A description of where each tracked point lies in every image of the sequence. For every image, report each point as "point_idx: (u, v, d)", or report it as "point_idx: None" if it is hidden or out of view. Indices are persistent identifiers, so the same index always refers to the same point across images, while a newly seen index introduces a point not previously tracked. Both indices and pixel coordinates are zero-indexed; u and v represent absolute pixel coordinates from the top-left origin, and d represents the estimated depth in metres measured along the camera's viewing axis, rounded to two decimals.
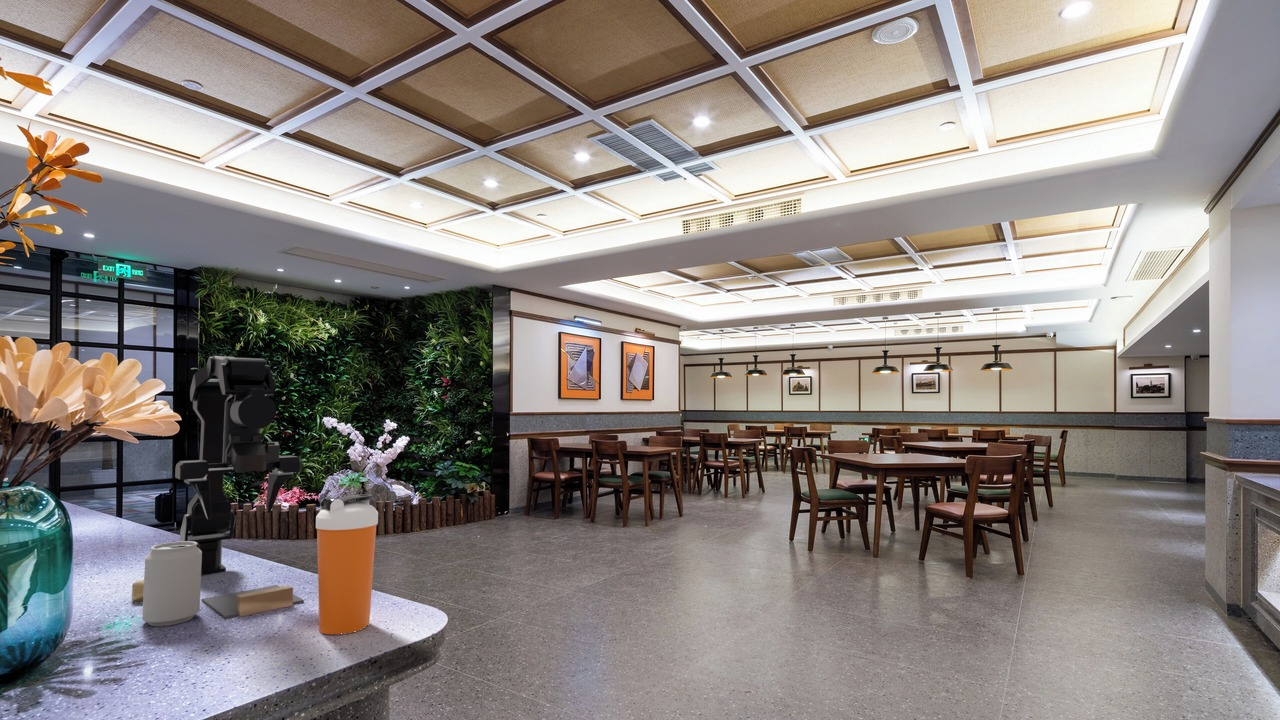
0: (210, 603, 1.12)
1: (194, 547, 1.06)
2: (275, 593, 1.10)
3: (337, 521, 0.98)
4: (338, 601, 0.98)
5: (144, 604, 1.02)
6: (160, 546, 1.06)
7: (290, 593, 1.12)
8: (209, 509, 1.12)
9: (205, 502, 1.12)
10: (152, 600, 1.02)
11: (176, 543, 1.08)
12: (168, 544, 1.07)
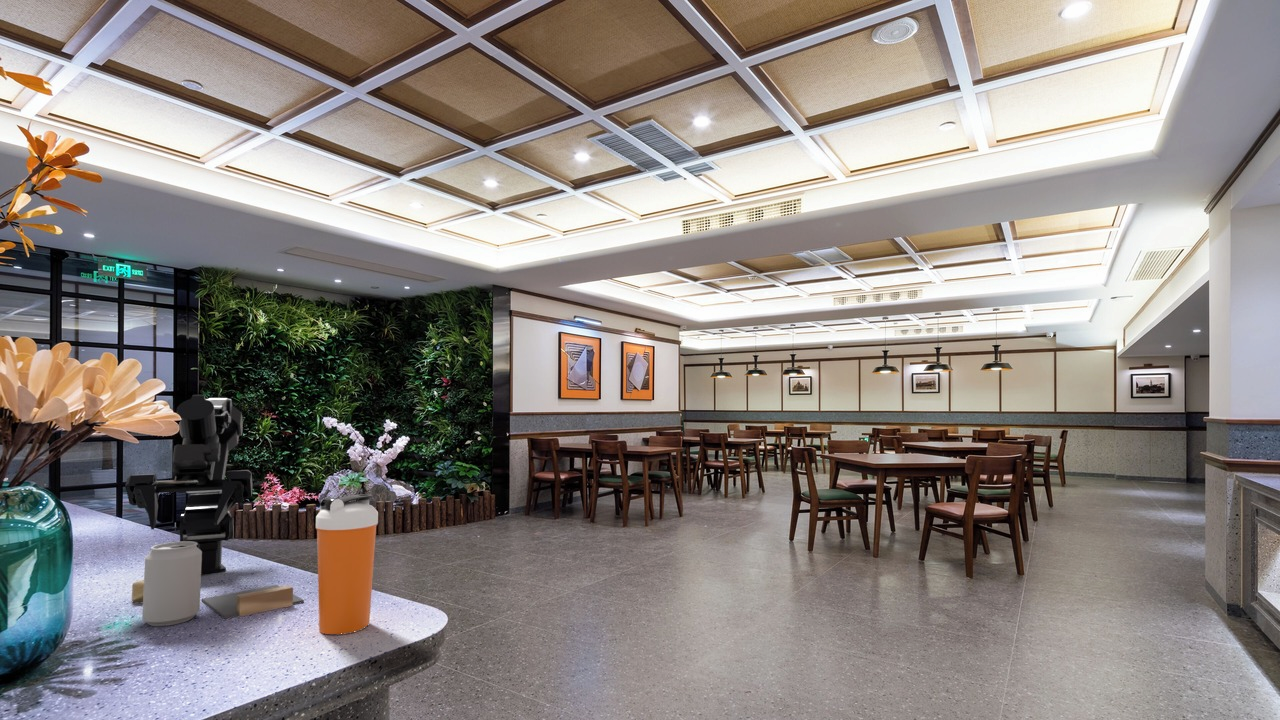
0: (210, 603, 1.12)
1: (194, 547, 1.06)
2: (275, 593, 1.10)
3: (337, 521, 0.98)
4: (338, 601, 0.98)
5: (144, 604, 1.02)
6: (160, 546, 1.06)
7: (290, 593, 1.12)
8: (152, 516, 1.12)
9: (150, 510, 1.13)
10: (152, 600, 1.02)
11: (176, 543, 1.08)
12: (168, 544, 1.07)
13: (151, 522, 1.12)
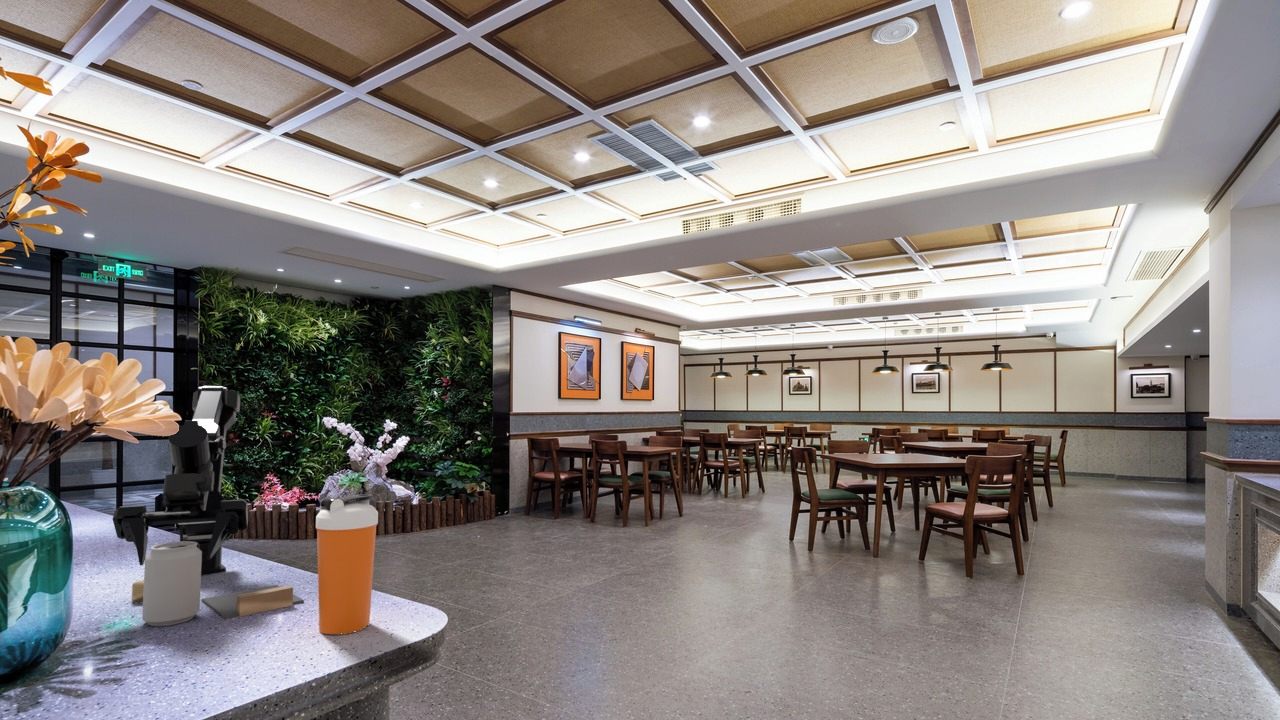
0: (210, 603, 1.12)
1: (194, 547, 1.06)
2: (275, 593, 1.10)
3: (337, 521, 0.98)
4: (338, 601, 0.98)
5: (144, 604, 1.02)
6: (160, 546, 1.06)
7: (290, 593, 1.12)
8: (141, 551, 1.06)
9: (138, 545, 1.06)
10: (152, 600, 1.02)
11: (176, 543, 1.08)
12: (168, 544, 1.07)
13: (140, 557, 1.05)
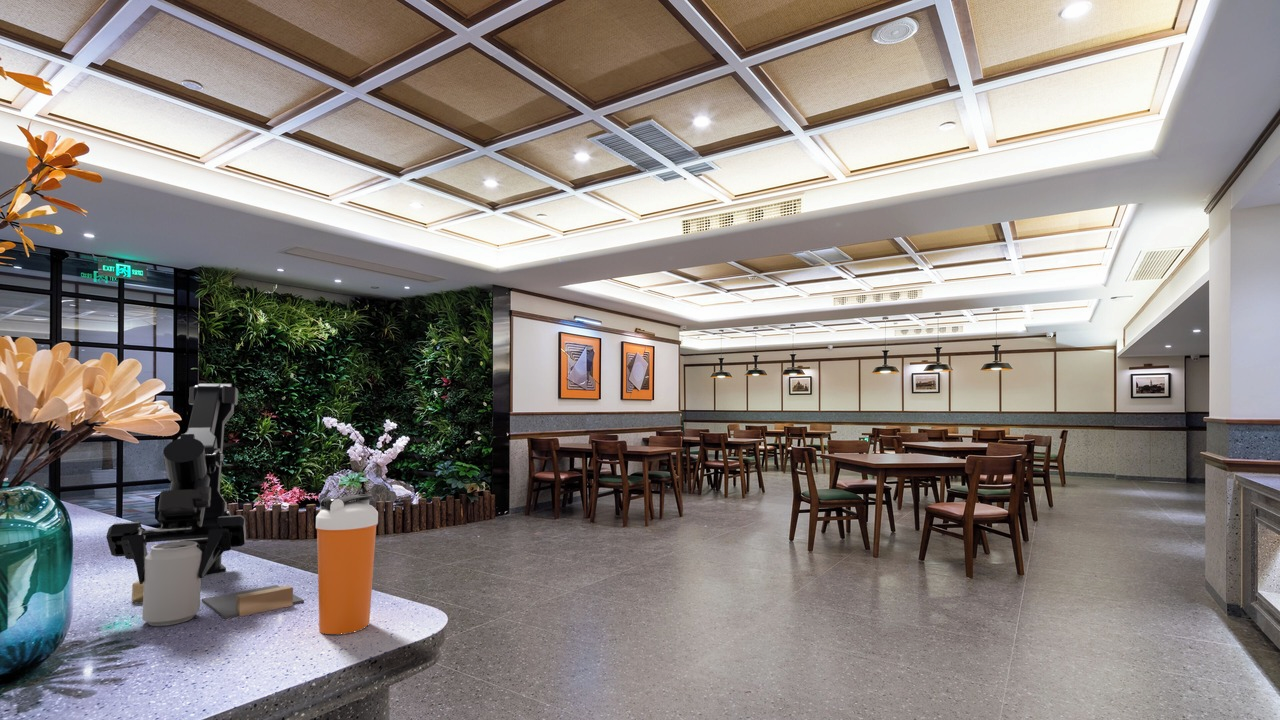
0: (210, 603, 1.12)
1: (194, 547, 1.06)
2: (275, 593, 1.10)
3: (337, 521, 0.98)
4: (338, 601, 0.98)
5: (144, 604, 1.02)
6: (160, 546, 1.06)
7: (290, 593, 1.12)
8: (141, 569, 1.03)
9: (138, 563, 1.04)
10: (152, 600, 1.02)
11: (176, 543, 1.08)
12: (168, 544, 1.07)
13: (140, 576, 1.02)
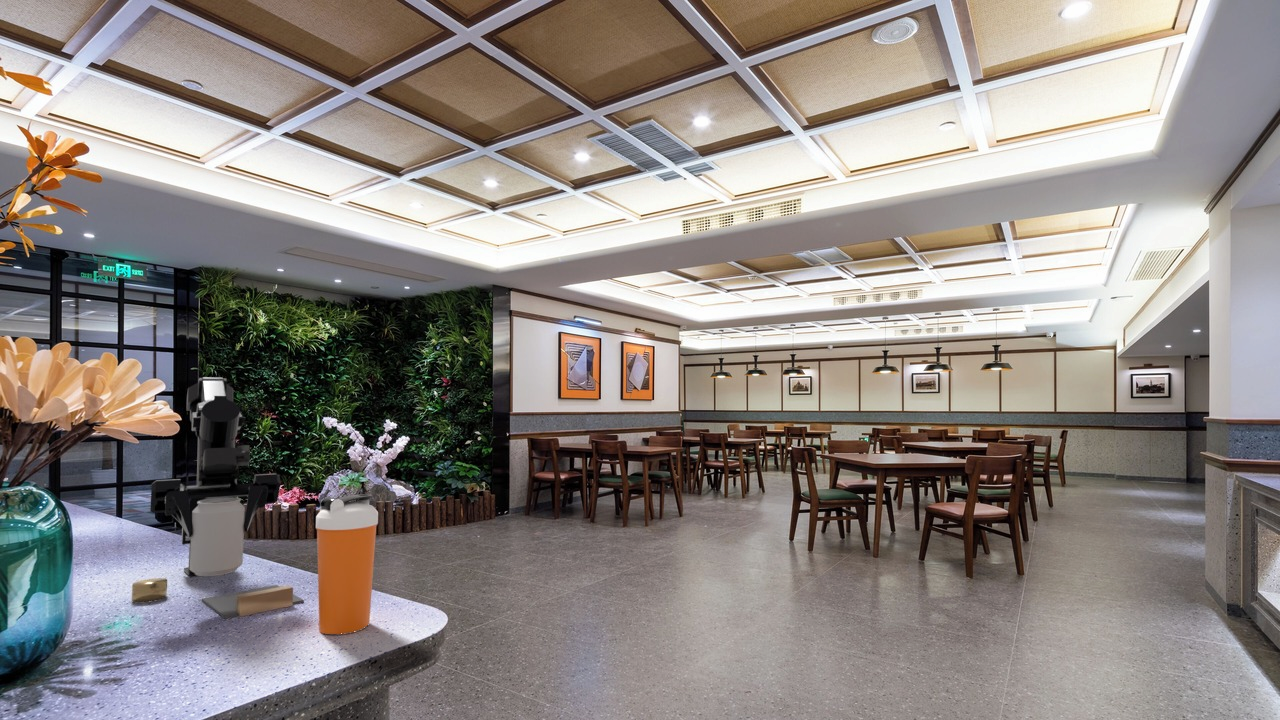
0: (210, 603, 1.12)
1: (239, 502, 1.11)
2: (275, 593, 1.10)
3: (337, 521, 0.98)
4: (338, 601, 0.98)
5: (194, 556, 1.06)
6: (203, 502, 1.10)
7: (290, 593, 1.12)
8: (189, 523, 1.07)
9: (185, 517, 1.08)
10: (203, 551, 1.06)
11: (217, 499, 1.12)
12: (209, 500, 1.12)
13: (189, 529, 1.07)
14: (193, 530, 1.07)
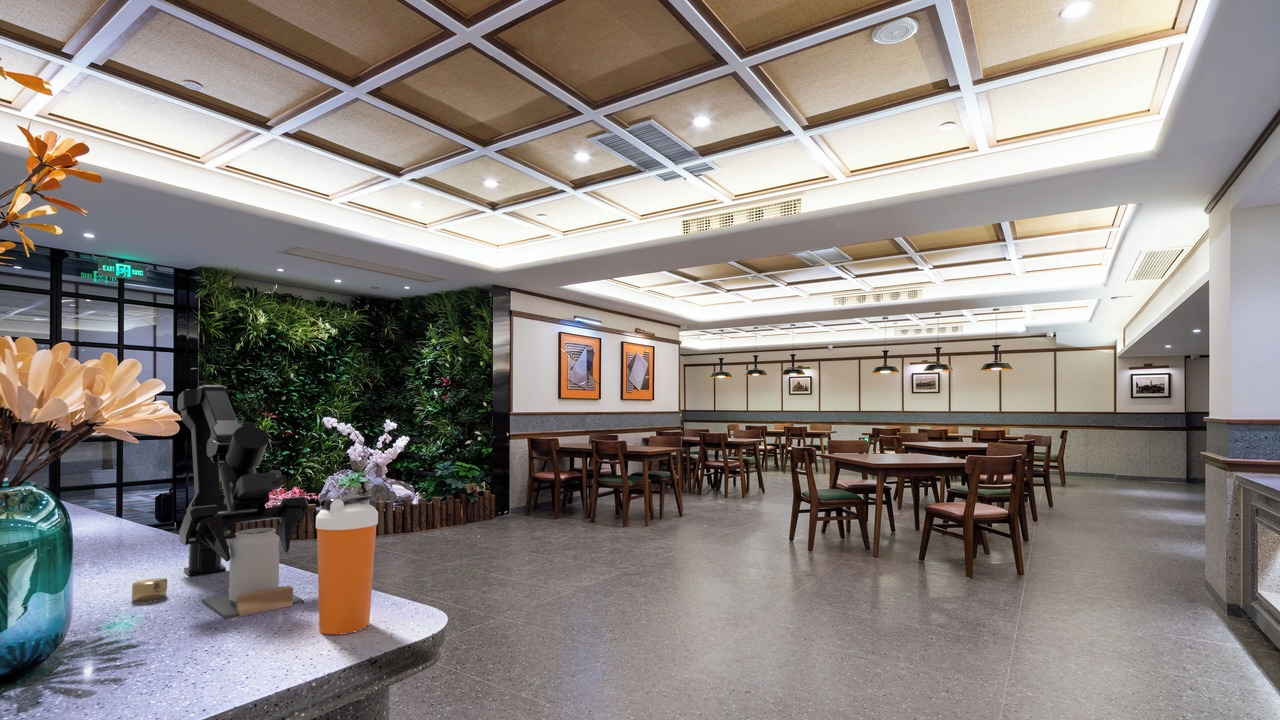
0: (210, 603, 1.12)
1: (274, 532, 1.16)
2: (275, 593, 1.10)
3: (337, 521, 0.98)
4: (338, 601, 0.98)
5: (236, 586, 1.11)
6: (238, 533, 1.14)
7: (290, 593, 1.12)
8: (227, 548, 1.11)
9: (221, 542, 1.11)
10: (247, 581, 1.11)
11: (249, 530, 1.16)
12: (243, 531, 1.15)
13: (227, 554, 1.10)
14: (234, 561, 1.11)
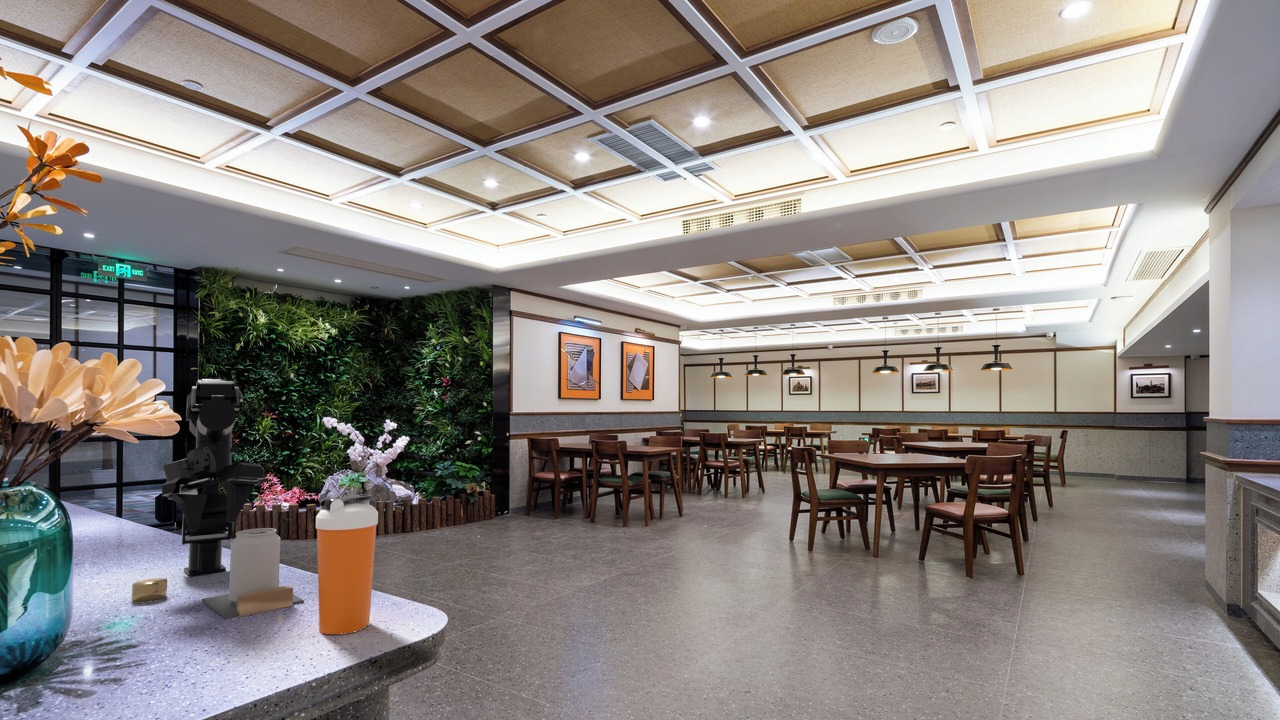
0: (210, 603, 1.12)
1: (275, 532, 1.16)
2: (275, 593, 1.10)
3: (337, 521, 0.98)
4: (338, 601, 0.98)
5: (236, 586, 1.11)
6: (239, 533, 1.14)
7: (290, 593, 1.12)
8: (188, 521, 1.22)
9: (186, 515, 1.22)
10: (247, 581, 1.11)
11: (250, 530, 1.16)
12: (244, 532, 1.16)
13: (189, 527, 1.22)
14: (235, 561, 1.11)
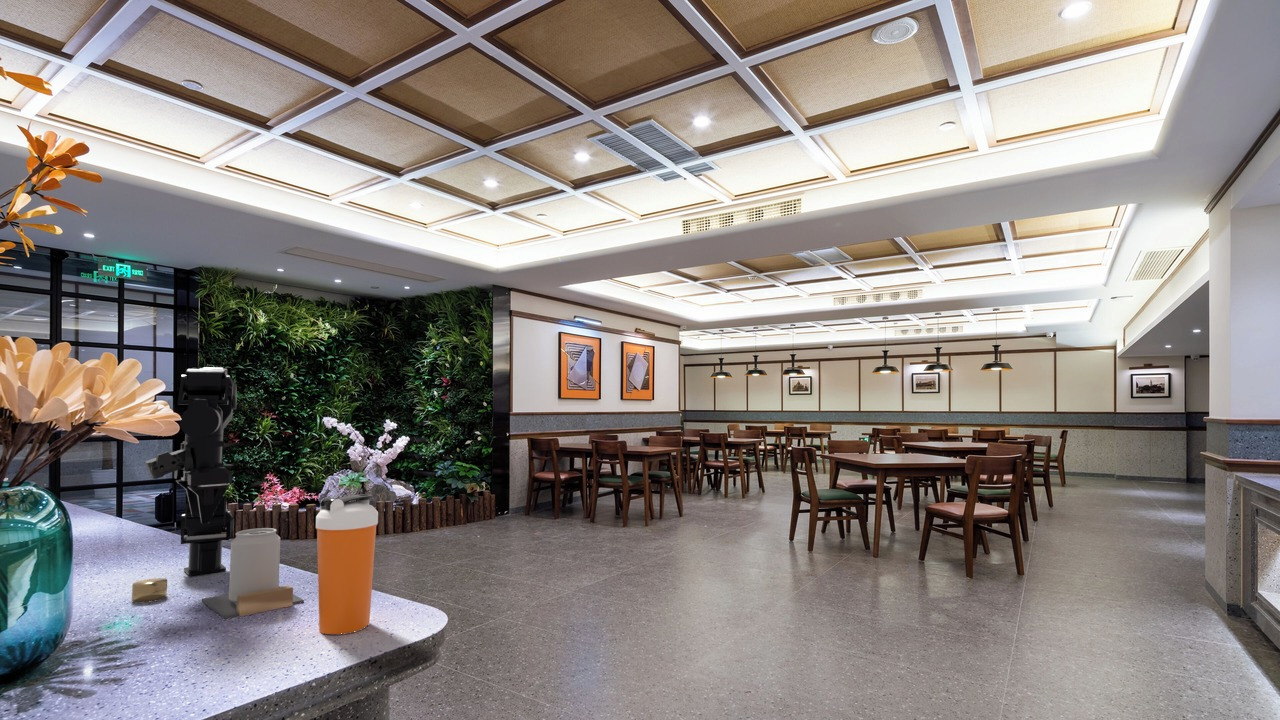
0: (210, 603, 1.12)
1: (275, 532, 1.16)
2: (275, 593, 1.10)
3: (337, 521, 0.98)
4: (338, 601, 0.98)
5: (236, 586, 1.11)
6: (239, 533, 1.14)
7: (290, 593, 1.12)
8: (190, 508, 1.25)
9: None
10: (247, 581, 1.11)
11: (250, 530, 1.16)
12: (244, 532, 1.15)
13: (191, 514, 1.25)
14: (235, 561, 1.11)
